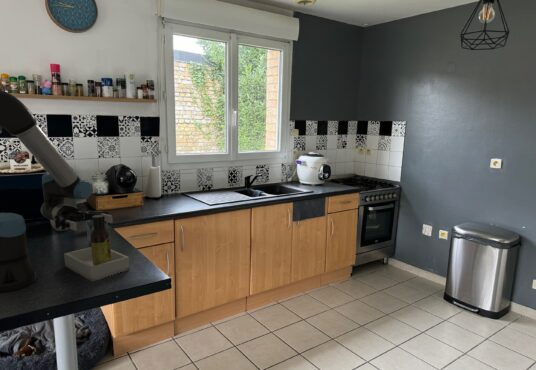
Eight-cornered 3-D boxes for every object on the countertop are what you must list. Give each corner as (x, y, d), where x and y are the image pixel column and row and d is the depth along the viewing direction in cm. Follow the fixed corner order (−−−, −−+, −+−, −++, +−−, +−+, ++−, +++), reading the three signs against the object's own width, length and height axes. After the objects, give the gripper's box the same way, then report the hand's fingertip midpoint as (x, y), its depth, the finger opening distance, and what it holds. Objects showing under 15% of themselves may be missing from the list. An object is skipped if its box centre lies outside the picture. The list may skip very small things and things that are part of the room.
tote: (129, 270, 139) (128, 257, 139) (91, 281, 129) (90, 267, 128) (101, 256, 154) (100, 244, 153) (65, 266, 143) (64, 253, 142)
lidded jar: (70, 225, 200) (69, 208, 199) (77, 229, 193) (76, 211, 191) (47, 229, 193) (46, 211, 191) (54, 233, 185) (52, 215, 184)
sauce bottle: (113, 269, 137) (109, 216, 133) (94, 273, 134) (90, 219, 130) (110, 263, 142) (106, 212, 138) (92, 267, 139) (87, 215, 135)
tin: (97, 249, 162) (94, 215, 160) (84, 248, 163) (82, 214, 161) (105, 245, 168) (103, 212, 165) (93, 244, 169) (91, 211, 167)
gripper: (96, 217, 161) (125, 225, 149) (33, 230, 142) (59, 240, 129) (95, 200, 160) (124, 207, 148) (31, 210, 140) (58, 219, 128)
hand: (94, 222), depth 138 cm, fingers open, 13 cm apart
